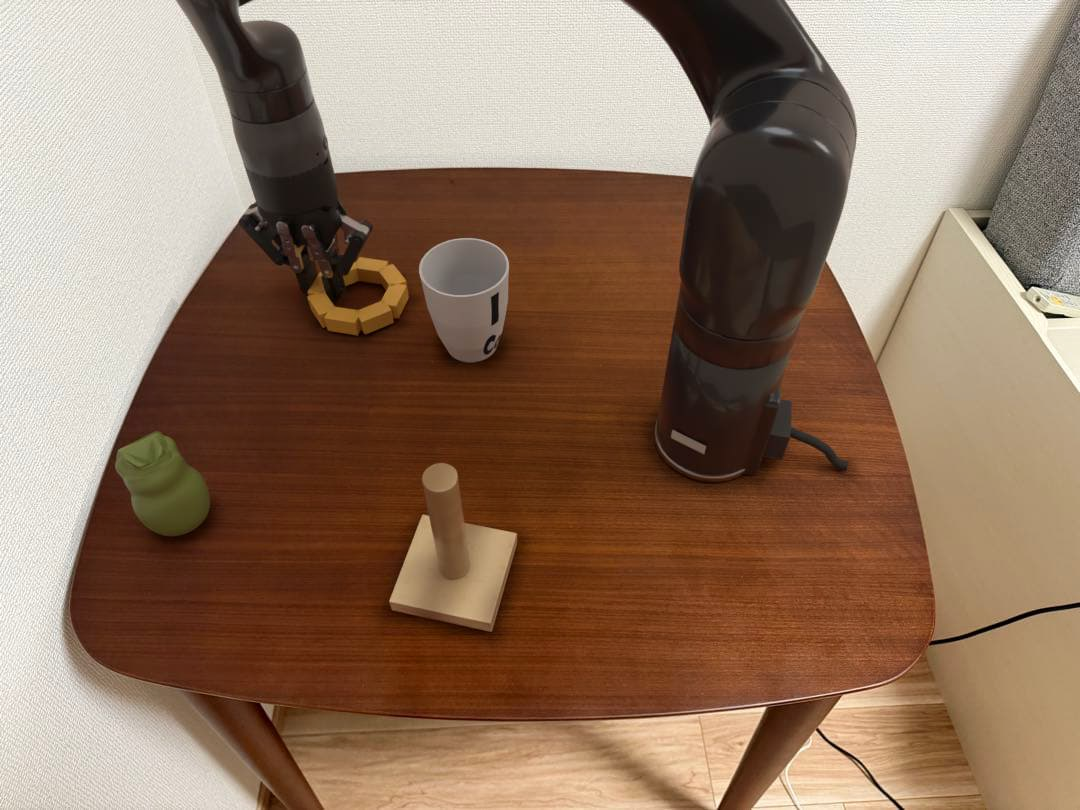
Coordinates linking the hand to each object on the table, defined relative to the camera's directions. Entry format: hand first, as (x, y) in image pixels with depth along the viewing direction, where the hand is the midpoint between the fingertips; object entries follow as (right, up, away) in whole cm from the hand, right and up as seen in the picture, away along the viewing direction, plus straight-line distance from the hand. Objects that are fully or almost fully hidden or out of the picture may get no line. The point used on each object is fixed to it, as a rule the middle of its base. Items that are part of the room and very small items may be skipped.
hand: (325, 295), depth 86 cm
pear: (-7, -21, -17) cm, 28 cm away
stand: (+16, -25, -21) cm, 36 cm away
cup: (+16, -5, -4) cm, 17 cm away
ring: (+4, -1, -1) cm, 4 cm away
